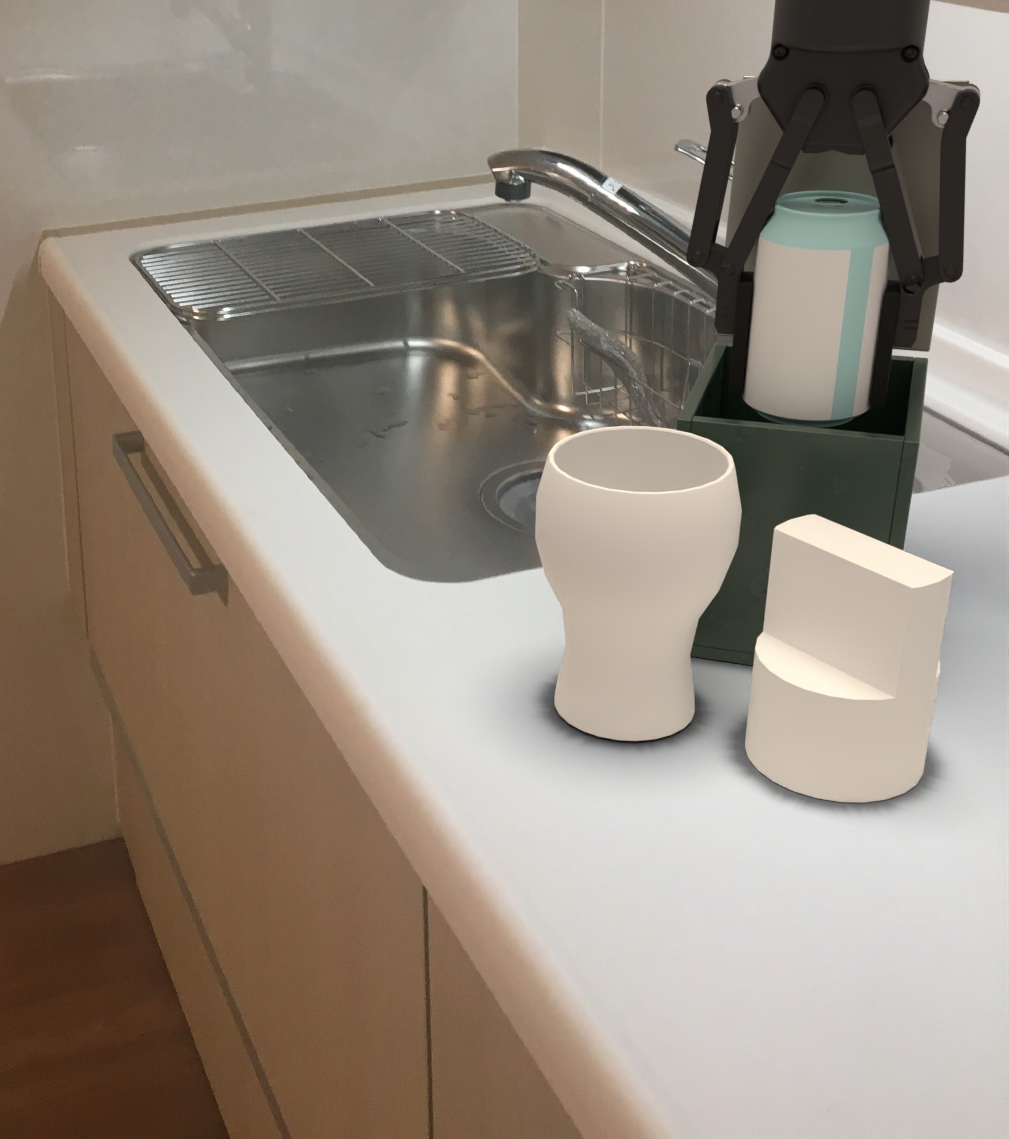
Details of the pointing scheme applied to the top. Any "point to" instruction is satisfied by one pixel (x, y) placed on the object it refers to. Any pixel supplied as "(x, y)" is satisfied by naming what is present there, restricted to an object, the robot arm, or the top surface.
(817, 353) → the can
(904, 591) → the base with upright slab
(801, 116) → the robot arm
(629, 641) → the cup
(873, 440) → the bin
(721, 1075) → the top surface
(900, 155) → the bin lid
